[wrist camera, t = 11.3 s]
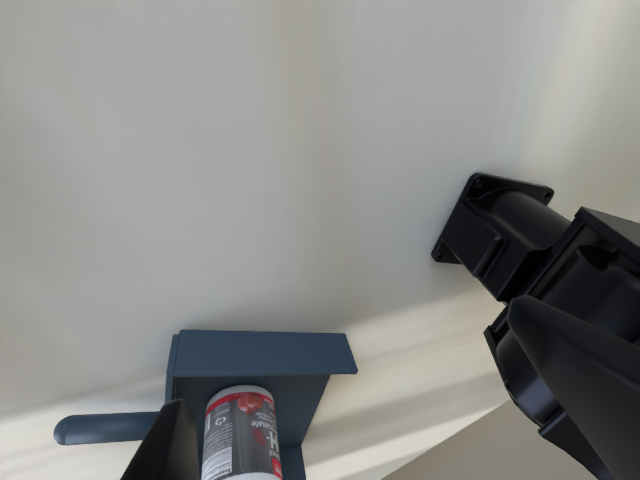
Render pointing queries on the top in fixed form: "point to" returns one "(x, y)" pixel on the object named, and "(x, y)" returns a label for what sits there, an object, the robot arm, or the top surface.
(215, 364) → the dustpan
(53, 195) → the top surface
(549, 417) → the robot arm
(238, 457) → the pill bottle
